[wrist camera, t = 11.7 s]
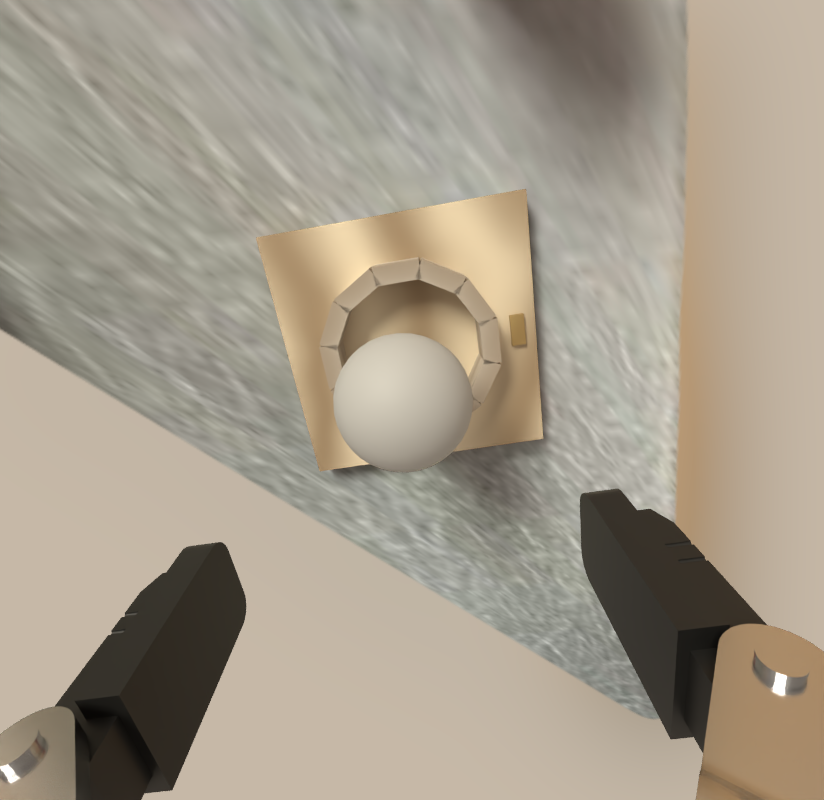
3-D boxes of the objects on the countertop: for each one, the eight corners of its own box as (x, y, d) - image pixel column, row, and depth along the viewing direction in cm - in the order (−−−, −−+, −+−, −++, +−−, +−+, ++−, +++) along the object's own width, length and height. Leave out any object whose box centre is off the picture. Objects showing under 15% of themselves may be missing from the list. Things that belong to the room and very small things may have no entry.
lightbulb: (466, 388, 28) (496, 480, 18) (373, 412, 28) (350, 515, 18) (442, 292, 26) (461, 333, 15) (342, 320, 26) (296, 378, 16)
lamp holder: (324, 460, 31) (313, 487, 28) (264, 237, 26) (243, 238, 23) (537, 429, 30) (552, 452, 27) (519, 191, 25) (535, 185, 22)
